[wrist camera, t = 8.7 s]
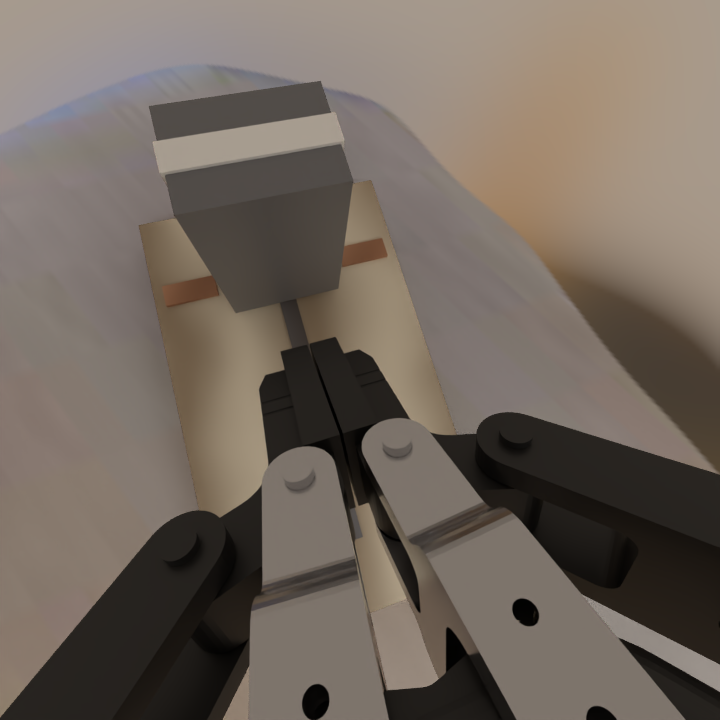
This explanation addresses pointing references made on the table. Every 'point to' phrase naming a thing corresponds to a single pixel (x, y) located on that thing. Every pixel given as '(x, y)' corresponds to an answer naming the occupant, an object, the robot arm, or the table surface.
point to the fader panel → (262, 356)
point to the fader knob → (259, 189)
